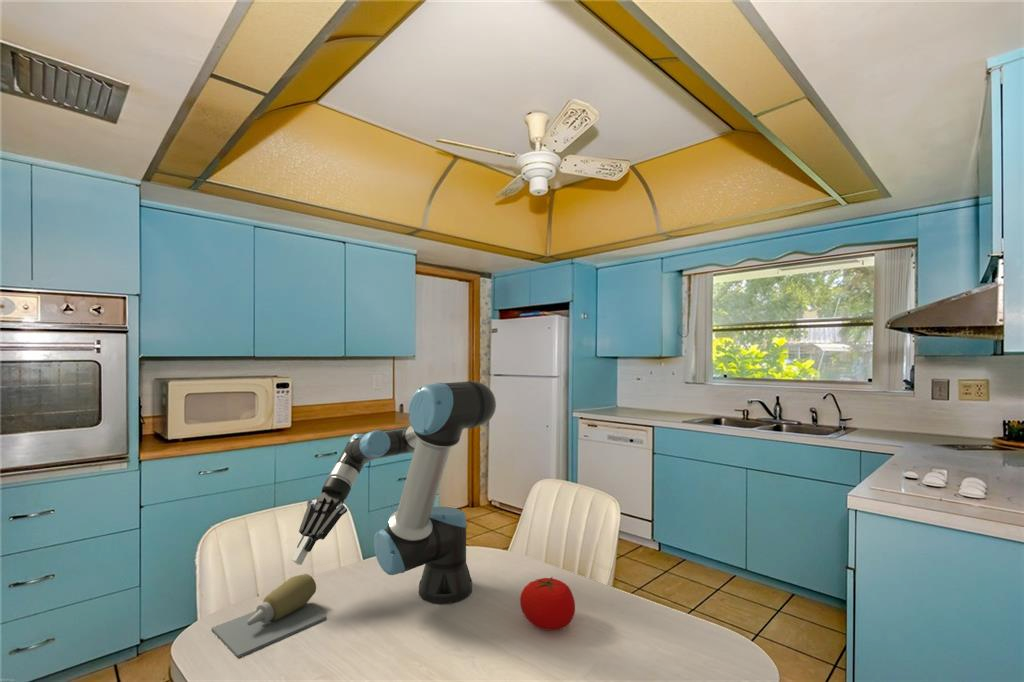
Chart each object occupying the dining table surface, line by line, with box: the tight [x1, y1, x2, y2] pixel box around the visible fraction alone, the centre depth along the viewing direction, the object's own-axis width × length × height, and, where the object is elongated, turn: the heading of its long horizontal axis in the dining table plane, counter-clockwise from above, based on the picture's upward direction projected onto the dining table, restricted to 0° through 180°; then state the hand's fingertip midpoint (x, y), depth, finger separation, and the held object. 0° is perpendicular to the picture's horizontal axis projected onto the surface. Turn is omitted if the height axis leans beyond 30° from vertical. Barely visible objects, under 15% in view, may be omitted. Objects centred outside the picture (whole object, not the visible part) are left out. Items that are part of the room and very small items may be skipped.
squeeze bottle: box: [247, 573, 317, 625], centre depth 127 cm, size 8×8×18 cm
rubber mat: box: [211, 602, 327, 659], centre depth 125 cm, size 16×21×1 cm
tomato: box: [519, 576, 576, 631], centre depth 125 cm, size 14×13×10 cm
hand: (296, 562), depth 130 cm, fingers closed
